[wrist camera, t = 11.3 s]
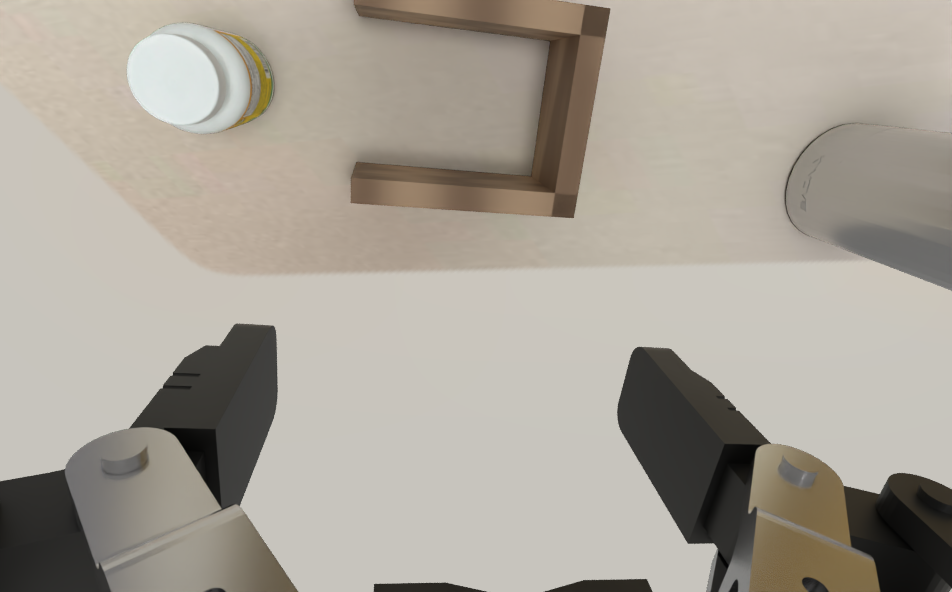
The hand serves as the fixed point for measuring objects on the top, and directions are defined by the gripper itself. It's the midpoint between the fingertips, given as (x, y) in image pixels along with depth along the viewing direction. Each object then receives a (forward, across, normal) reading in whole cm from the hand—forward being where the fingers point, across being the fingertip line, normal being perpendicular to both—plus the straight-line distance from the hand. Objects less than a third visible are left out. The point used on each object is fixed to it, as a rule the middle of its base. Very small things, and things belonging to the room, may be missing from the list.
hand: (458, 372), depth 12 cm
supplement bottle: (+28, +13, -4) cm, 31 cm away
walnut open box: (+28, -2, -5) cm, 28 cm away
